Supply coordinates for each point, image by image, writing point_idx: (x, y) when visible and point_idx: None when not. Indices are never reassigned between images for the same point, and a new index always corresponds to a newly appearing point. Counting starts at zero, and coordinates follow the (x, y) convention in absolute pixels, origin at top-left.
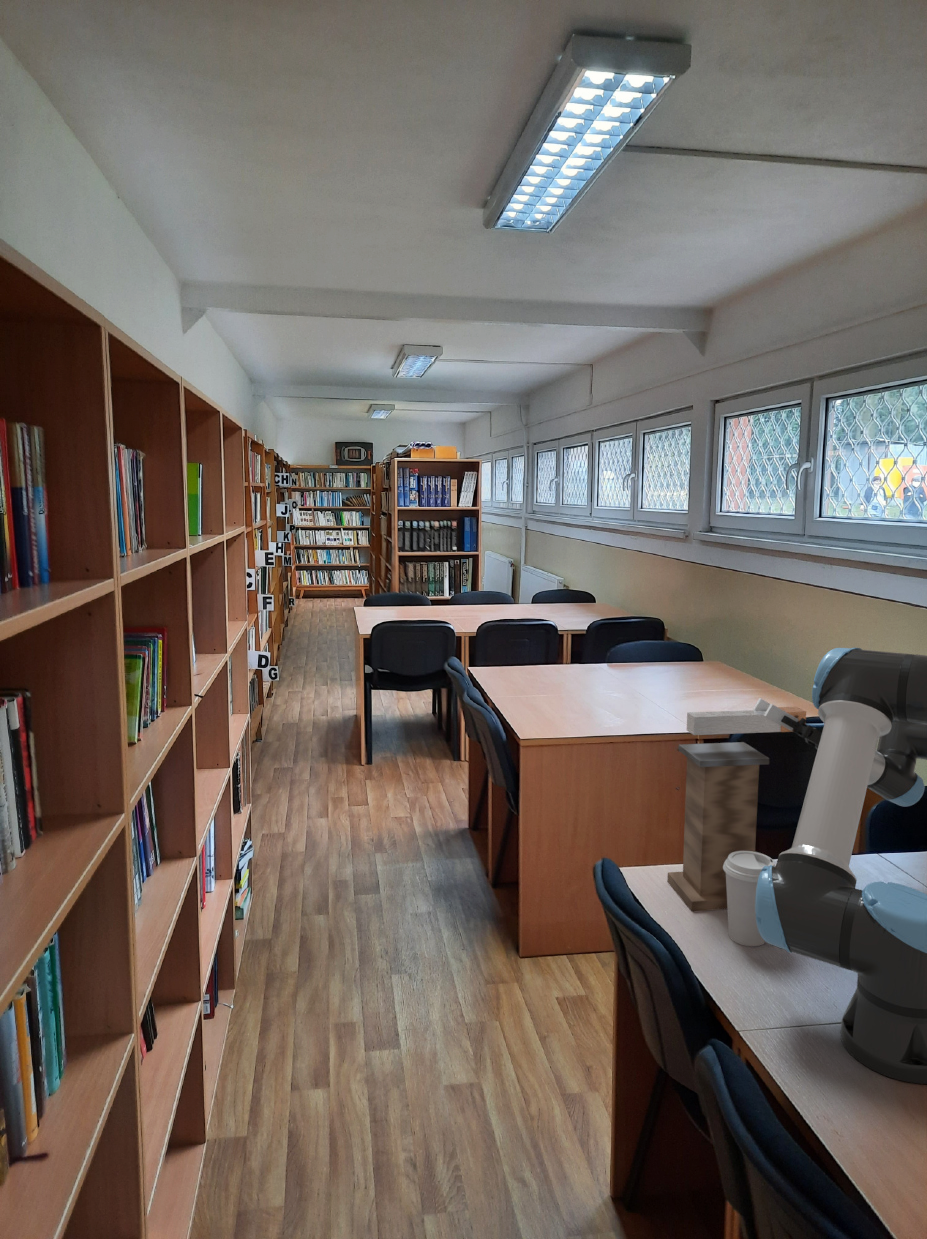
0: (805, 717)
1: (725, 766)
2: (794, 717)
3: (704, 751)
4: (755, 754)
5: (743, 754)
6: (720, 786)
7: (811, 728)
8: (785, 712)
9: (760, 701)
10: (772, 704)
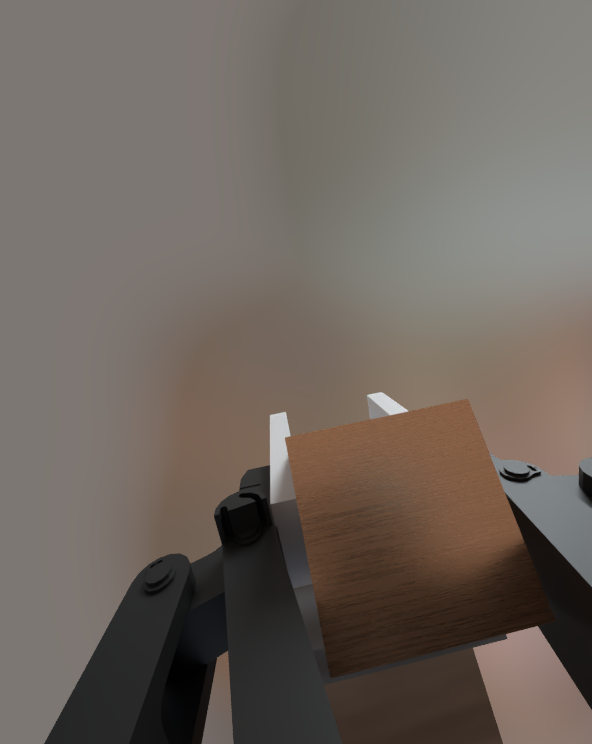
0: (298, 499)
1: None
2: (271, 483)
3: None
4: (308, 631)
5: (312, 607)
6: None
7: (131, 596)
8: (270, 449)
9: (368, 407)
10: (271, 415)
